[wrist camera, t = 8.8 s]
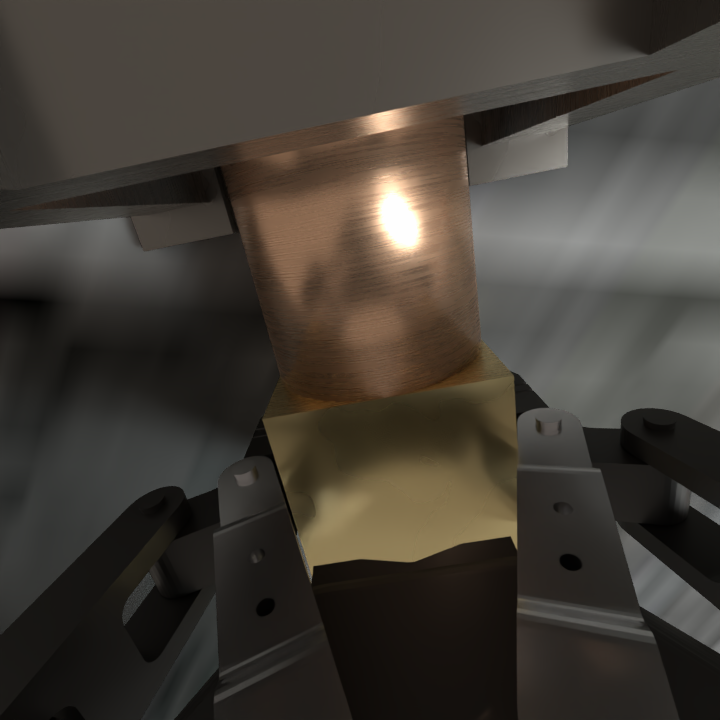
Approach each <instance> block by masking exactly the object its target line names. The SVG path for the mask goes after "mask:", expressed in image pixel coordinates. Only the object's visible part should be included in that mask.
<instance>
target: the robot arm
mask: <svg viewBox="0 0 720 720" xmlns="http://www.w3.org/2000/svg"><path fill="white" fill-rule="evenodd" d="M510 372H511V371H510ZM511 373H512V374H513V375H514V386H515V406H516V426H517V445H518V464H517V549H516V547H515V545H514V543H513V540H512V538H511V536H508V537H502V538H495V539H489V540H482V541H475V542H469V543H462V544H459V545H456V546H454V547H451V548H449V549H446V550H444V551H441V552H438V553H436V554H433V555H431V556H428V557H426V558H423V559H421V560H418V561H415V562H397V561H383V560H369V559H357V560H350V561H344V562H337V563H331V564H324V565H317V566H313V575H312V583H311V581H310V578H309V575H308V571H307V568H306V565H305V562H304V559H303V555H302V552H301V549H300V546H299V543H298V540H297V537H296V535H297V527H296V524H295V521H294V518H293V515H292V512H291V508H290V505H289V502H288V499H287V496H286V493H285V489H284V486H283V483H282V480H281V477H280V474H279V471H278V467H277V464H276V461H275V458H274V455H273V452H272V448H271V445H270V442H269V439H268V436H267V433H266V430H265V426H264V423H263V420H262V419H263V417H262V418H261V419H260V421H259V423H258V426H257V428H256V429H257V430H256V431H255V433H254V435H253V438H252V440H251V443H250V445H249V447H248V450H247V452H246V454H245V457H244V459H242V460H239V461H237V462H235V463H233V464H232V465H230V466H229V467H228V468H226V469H225V470H224V471H223V472H222V473H221V475H220V476H219V479H218V488H216V489H214V490H212V491H209V492H207V493H204V494H201V495H199V496H196V497H193V498H190V499H188V500H187V498H186V496H185V493H184V491H183V490H182V489H181V488H180V487H176V486H168V487H163V488H159V489H156V490H153V491H151V492H149V493H147V494H145V495H144V496H142V497H140V498H139V499H138V500H136V501H135V502H134V503H133V504H131V505H130V506H129V507H128V508H127V509H126V510H125V511H124V512H123V513H122V514H121V515H120V516H119V517H118V518H117V519H116V520H115V521H114V522H113V523H112V524H111V525H110V526H109V527H108V528H107V529H106V530H105V531H104V532H103V533H102V534H101V535H100V536H99V537H98V538H97V539H96V540H95V541H94V542H93V543H92V544H91V545H90V546H89V547H88V548H87V549H86V550H85V551H84V552H83V553H82V554H81V555H80V556H79V557H78V558H77V559H76V560H75V561H74V562H73V563H72V564H71V565H70V566H69V567H68V568H67V569H66V570H65V571H64V572H63V573H62V574H61V575H60V576H59V577H58V578H57V579H56V580H55V581H54V582H53V583H52V584H51V585H50V586H49V587H48V588H47V589H46V590H45V591H44V592H43V593H42V594H41V595H40V596H39V597H38V598H37V599H36V600H35V601H34V602H33V603H32V604H31V605H30V606H29V607H28V608H27V609H26V610H25V611H24V612H23V613H22V614H21V615H20V616H19V617H18V618H17V619H16V620H15V621H14V622H13V623H12V624H11V625H10V626H9V627H8V628H7V629H6V630H5V631H4V632H3V633H2V634H1V635H0V720H141V718H142V717H143V715H144V713H145V711H146V710H147V708H148V706H149V705H150V703H151V701H152V699H153V698H154V696H155V694H156V693H157V691H158V689H159V688H160V686H161V684H162V682H163V681H164V679H165V677H166V676H167V674H168V672H169V671H170V669H171V667H172V665H173V664H174V662H175V660H176V659H177V657H178V655H179V654H180V652H181V650H182V648H183V647H184V645H185V643H186V642H187V640H188V638H189V636H190V635H191V633H192V631H193V630H194V628H195V626H196V625H197V623H198V621H199V619H200V618H201V616H202V614H203V613H204V611H205V609H206V608H207V606H208V604H209V602H210V601H211V599H212V597H213V596H214V594H215V592H216V609H217V632H218V654H219V668H218V669H217V670H216V672H215V673H214V674H213V675H212V676H211V677H210V679H209V680H208V681H207V682H206V683H205V684H204V686H203V687H202V688H201V689H200V690H199V691H198V693H197V694H196V695H195V696H194V697H193V698H192V699H191V701H190V702H189V703H188V704H187V705H186V706H185V708H184V709H183V710H182V711H181V712H180V713H179V715H178V716H177V717H176V718H175V719H174V720H720V654H719V653H717V652H716V651H714V650H712V649H711V648H709V647H707V646H706V645H704V644H702V643H701V642H699V641H697V640H696V639H694V638H692V637H691V636H689V635H687V634H686V633H684V632H682V631H681V630H679V629H677V628H676V627H674V626H672V625H670V624H669V623H667V622H665V621H664V620H662V619H660V618H659V617H657V616H655V615H654V614H652V613H650V612H649V611H647V610H645V609H644V608H642V607H640V606H639V603H638V600H637V596H636V593H635V589H634V586H633V582H632V579H631V575H630V572H629V568H628V564H627V561H626V557H625V554H624V550H623V547H622V543H621V540H620V536H619V533H618V529H617V525H616V522H615V521H617V522H618V524H619V525H620V526H621V528H623V529H624V530H625V531H626V532H627V533H628V534H629V535H631V536H632V537H633V538H634V539H635V540H637V541H638V542H639V543H640V544H641V545H643V546H644V547H645V548H646V549H647V550H649V551H650V552H651V553H652V554H653V555H655V556H656V557H657V558H658V559H659V560H661V561H662V562H663V563H664V564H665V565H667V566H668V567H669V568H670V569H671V570H673V571H674V572H675V573H676V574H677V575H679V576H680V577H681V578H682V579H683V580H684V581H686V582H687V583H688V584H689V585H690V586H692V587H693V588H694V589H695V590H696V591H698V592H699V593H700V594H701V595H702V596H704V597H705V598H706V599H707V600H708V601H710V602H711V603H712V604H713V605H714V606H716V607H717V608H718V609H719V610H720V525H718V524H717V523H715V522H714V521H712V520H711V519H709V518H708V517H706V516H705V515H703V514H702V513H700V512H699V511H697V510H696V509H694V508H692V507H691V506H689V504H690V497H691V491H692V492H694V493H695V494H697V495H698V496H700V497H702V498H703V499H705V500H706V501H708V502H710V503H711V504H713V505H715V506H716V507H718V508H719V509H720V431H718V430H715V429H713V428H711V427H709V426H707V425H704V424H702V423H700V422H698V421H696V420H693V419H691V418H689V417H687V416H685V415H682V414H680V413H676V412H673V411H669V410H664V409H655V408H644V409H636V410H632V411H630V412H627V413H626V414H624V415H623V417H622V419H621V429H607V428H587V427H582V425H581V422H580V420H579V419H578V418H577V417H576V416H575V415H573V414H572V413H570V412H567V411H564V410H560V409H555V408H549V407H548V406H547V405H546V404H545V403H544V402H543V400H542V399H541V398H540V397H539V396H538V395H537V394H536V393H535V392H534V391H532V389H531V387H530V386H529V385H528V384H526V382H525V381H524V380H523V379H522V378H521V377H520V376H519V375H518V374H516V373H514V372H511ZM148 572H149V573H150V574H151V576H152V578H153V580H154V582H155V584H156V585H155V586H154V587H153V589H152V590H151V591H150V593H149V594H148V595H147V597H146V598H145V599H144V601H143V602H142V603H141V605H140V606H139V607H138V609H137V610H136V612H135V613H134V614H133V616H132V617H131V618H130V620H129V621H128V622H127V624H126V625H125V626H124V625H123V622H122V612H123V608H124V605H125V603H126V601H127V599H128V597H129V596H130V594H131V593H132V592H133V591H134V589H135V588H136V587H137V586H138V584H139V583H140V582H141V581H142V579H143V578H144V577H145V575H146V574H147V573H148Z"/></svg>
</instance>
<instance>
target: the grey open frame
mask: <svg viewBox="0 0 720 720" xmlns="http://www.w3.org/2000/svg"><path fill="white" fill-rule="evenodd" d="M719 77H720V0H0V229H3V228H14V227H25V226H36V225H47V224H58V223H69V222H79V221H90V220H101V219H112V218H123V217H131V219H132V222H133V224H134V227H135V229H136V232H137V235H138V237H139V240H140V243H141V245H142V248H143V251H149V250H154V249H159V248H164V247H169V246H174V245H179V244H184V243H189V242H194V241H199V240H204V239H209V238H214V237H219V236H224V235H229V234H234V233H237V232H239V231H238V228H237V224H236V221H235V217H234V214H233V210H232V207H231V203H230V200H229V196H228V193H227V189H226V186H225V182H224V179H223V175H222V172H221V168H220V166H223V165H228V164H233V163H238V162H242V161H247V160H252V159H257V158H261V157H266V156H271V155H276V154H280V153H285V152H290V151H295V150H299V149H304V148H309V147H314V146H318V145H323V144H328V143H333V142H337V141H342V140H347V139H352V138H356V137H361V136H366V135H371V134H375V133H380V132H385V131H390V130H394V129H399V128H404V127H409V126H413V125H418V124H423V123H428V122H432V121H437V120H442V119H447V118H451V117H456V116H461V115H463V120H464V133H465V145H466V158H467V170H468V182H469V186H473V185H478V184H483V183H488V182H493V181H498V180H503V179H507V178H512V177H517V176H522V175H527V174H532V173H537V172H542V171H547V170H552V169H557V168H562V167H567V166H568V126H571V125H574V124H577V123H580V122H583V121H587V120H590V119H593V118H596V117H599V116H602V115H605V114H608V113H611V112H614V111H617V110H620V109H623V108H627V107H630V106H633V105H636V104H639V103H642V102H645V101H648V100H651V99H654V98H657V97H660V96H664V95H667V94H670V93H673V92H676V91H679V90H682V89H685V88H688V87H691V86H694V85H697V84H701V83H704V82H707V81H710V80H713V79H716V78H719Z"/></svg>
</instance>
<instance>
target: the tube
mask: <svg viewBox="0 0 720 720" xmlns="http://www.w3.org/2000/svg"><path fill="white" fill-rule="evenodd" d="M221 169H222V172H223V176H224V179H225V183H226V186H227V190H228V193H229V197H230V200H231V204H232V207H233V211H234V214H235V218H236V221H237V225H238V228H239V232H240V235H241V239H242V242H243V246H244V249H245V253H246V256H247V260H248V263H249V267H250V270H251V274H252V277H253V281H254V284H255V288H256V291H257V295H258V298H259V302H260V306H261V309H262V313H263V316H264V320H265V323H266V327H267V330H268V334H269V337H270V341H271V344H272V348H273V351H274V355H275V358H276V362H277V365H278V369H279V372H280V378H279V380H278V382H277V385H276V387H275V390H274V392H273V395H272V397H271V399H270V402H269V404H268V407H267V409H266V412H265V414H264V416H263V419H262V420H263V423H264V426H265V430H266V433H267V436H268V439H269V442H270V445H271V448H272V452H273V455H274V458H275V461H276V464H277V467H278V471H279V474H280V477H281V480H282V483H283V486H284V489H285V493H286V496H287V499H288V502H289V505H290V508H291V512H292V515H293V518H294V521H295V524H296V527H297V530H298V534H299V537H300V540H301V543H302V546H303V549H304V552H305V556H306V559H307V562H308V565H309V568H310V571H311V575H313V566H317V565H324V564H331V563H337V562H344V561H350V560H357V559H369V560H383V561H397V562H415V561H418V560H421V559H423V558H426V557H428V556H431V555H433V554H436V553H438V552H441V551H444V550H446V549H449V548H451V547H454V546H456V545H459V544H462V543H469V542H475V541H482V540H489V539H495V538H502V537H508V536H511V538H512V540H513V543H514V545H515V547H516V549H517V464H518V445H517V426H516V406H515V386H514V375H513V374H512V373H511V372H510V371H509V370H508V368H507V367H506V366H505V365H504V364H503V363H502V362H501V361H500V360H499V358H498V357H497V356H496V355H495V354H494V353H493V352H492V351H491V350H490V348H489V347H488V346H487V345H486V344H485V343H484V342H483V341H482V340H481V331H480V319H479V307H478V294H477V282H476V269H475V257H474V245H473V232H472V220H471V207H470V195H469V182H468V170H467V158H466V145H465V133H464V120H463V115H461V116H456V117H451V118H447V119H442V120H437V121H432V122H428V123H423V124H418V125H413V126H409V127H404V128H399V129H394V130H390V131H385V132H380V133H375V134H371V135H366V136H361V137H356V138H352V139H347V140H342V141H337V142H333V143H328V144H323V145H318V146H314V147H309V148H304V149H299V150H295V151H290V152H285V153H280V154H276V155H271V156H266V157H261V158H257V159H252V160H247V161H242V162H238V163H233V164H228V165H223V166H221Z"/></svg>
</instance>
